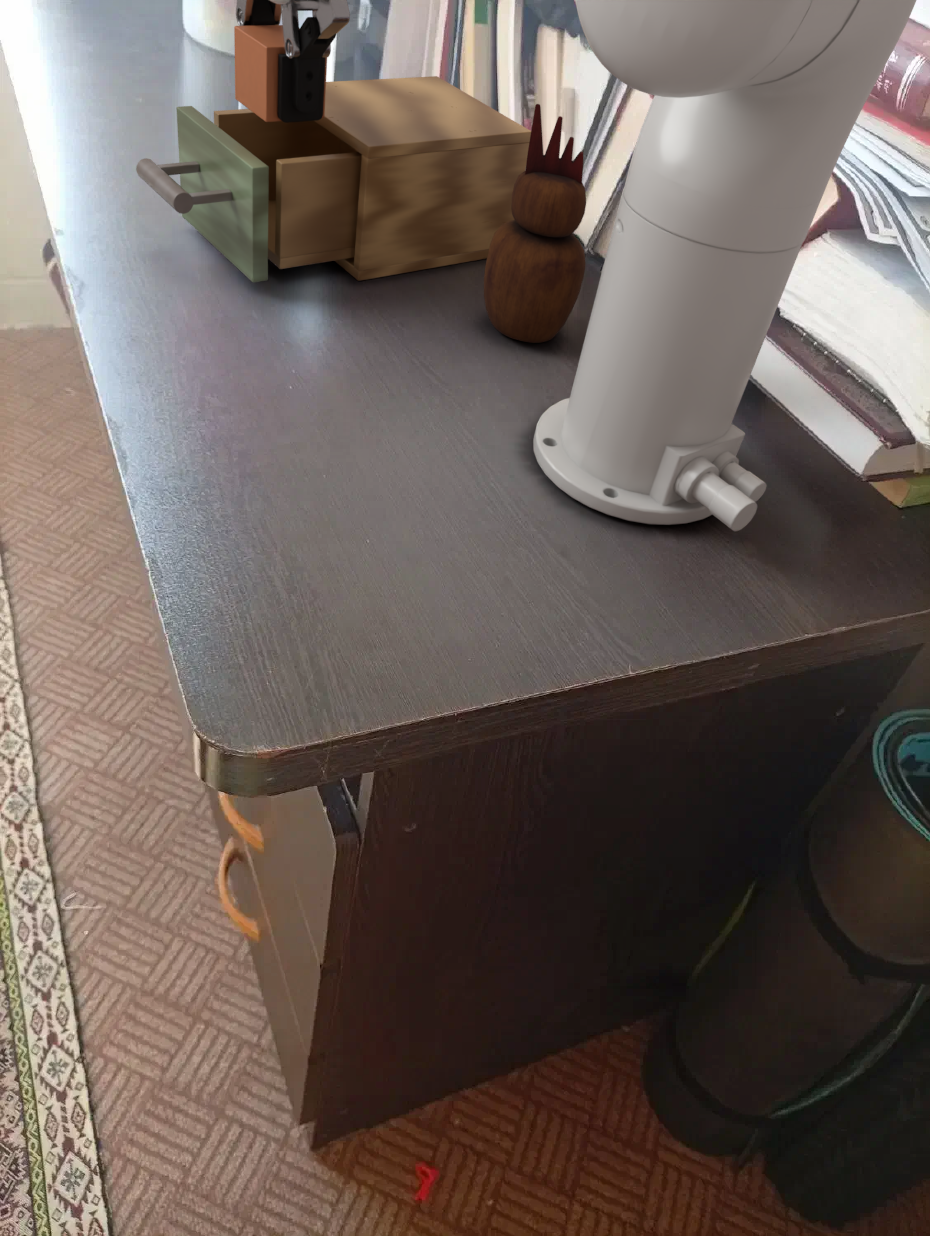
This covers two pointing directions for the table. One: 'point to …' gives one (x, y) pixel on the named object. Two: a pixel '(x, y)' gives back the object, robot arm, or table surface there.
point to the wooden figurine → (538, 244)
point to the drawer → (262, 189)
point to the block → (260, 69)
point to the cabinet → (424, 171)
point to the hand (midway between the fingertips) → (281, 103)
